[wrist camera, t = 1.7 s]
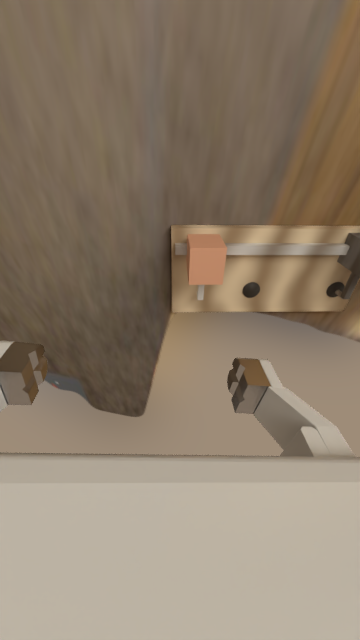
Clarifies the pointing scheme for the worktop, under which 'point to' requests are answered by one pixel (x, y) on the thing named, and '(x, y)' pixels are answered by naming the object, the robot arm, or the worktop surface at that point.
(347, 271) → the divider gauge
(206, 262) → the block
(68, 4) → the worktop surface
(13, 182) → the worktop surface
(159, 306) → the worktop surface
